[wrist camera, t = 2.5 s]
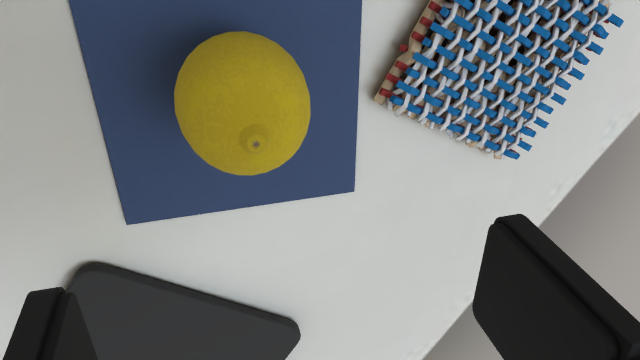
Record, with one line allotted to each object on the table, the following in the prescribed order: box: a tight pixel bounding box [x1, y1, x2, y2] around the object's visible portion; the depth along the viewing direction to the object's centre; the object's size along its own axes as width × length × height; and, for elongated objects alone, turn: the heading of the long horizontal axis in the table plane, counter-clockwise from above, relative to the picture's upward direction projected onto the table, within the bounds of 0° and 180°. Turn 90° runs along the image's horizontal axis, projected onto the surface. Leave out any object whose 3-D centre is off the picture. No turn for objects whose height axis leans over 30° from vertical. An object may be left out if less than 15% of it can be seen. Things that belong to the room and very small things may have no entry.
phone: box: [66, 264, 301, 360], centre depth 31 cm, size 7×1×15 cm
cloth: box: [69, 0, 362, 225], centre depth 23 cm, size 18×13×1 cm
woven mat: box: [373, 0, 624, 159], centre depth 26 cm, size 10×11×2 cm
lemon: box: [174, 31, 311, 175], centre depth 20 cm, size 6×6×8 cm
